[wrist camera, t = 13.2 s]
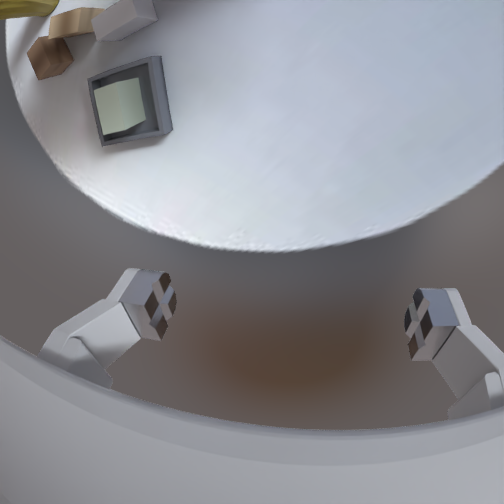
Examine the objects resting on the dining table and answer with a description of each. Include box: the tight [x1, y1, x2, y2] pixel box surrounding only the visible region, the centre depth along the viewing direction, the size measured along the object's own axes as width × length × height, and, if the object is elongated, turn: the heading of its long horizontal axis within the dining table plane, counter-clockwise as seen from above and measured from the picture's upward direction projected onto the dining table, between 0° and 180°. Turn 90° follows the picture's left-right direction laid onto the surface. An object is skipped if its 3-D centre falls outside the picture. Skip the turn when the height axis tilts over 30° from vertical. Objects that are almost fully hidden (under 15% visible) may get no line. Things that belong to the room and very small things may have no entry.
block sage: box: [94, 78, 146, 135], centre depth 28 cm, size 6×4×5 cm, turn 4°
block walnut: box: [27, 36, 74, 80], centre depth 24 cm, size 6×4×5 cm, turn 24°
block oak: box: [48, 7, 104, 39], centre depth 21 cm, size 6×4×5 cm, turn 79°
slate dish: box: [88, 56, 173, 147], centre depth 30 cm, size 10×10×2 cm
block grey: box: [91, 0, 158, 41], centre depth 21 cm, size 6×4×5 cm, turn 104°
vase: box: [0, 0, 59, 20], centre depth 13 cm, size 6×6×14 cm
